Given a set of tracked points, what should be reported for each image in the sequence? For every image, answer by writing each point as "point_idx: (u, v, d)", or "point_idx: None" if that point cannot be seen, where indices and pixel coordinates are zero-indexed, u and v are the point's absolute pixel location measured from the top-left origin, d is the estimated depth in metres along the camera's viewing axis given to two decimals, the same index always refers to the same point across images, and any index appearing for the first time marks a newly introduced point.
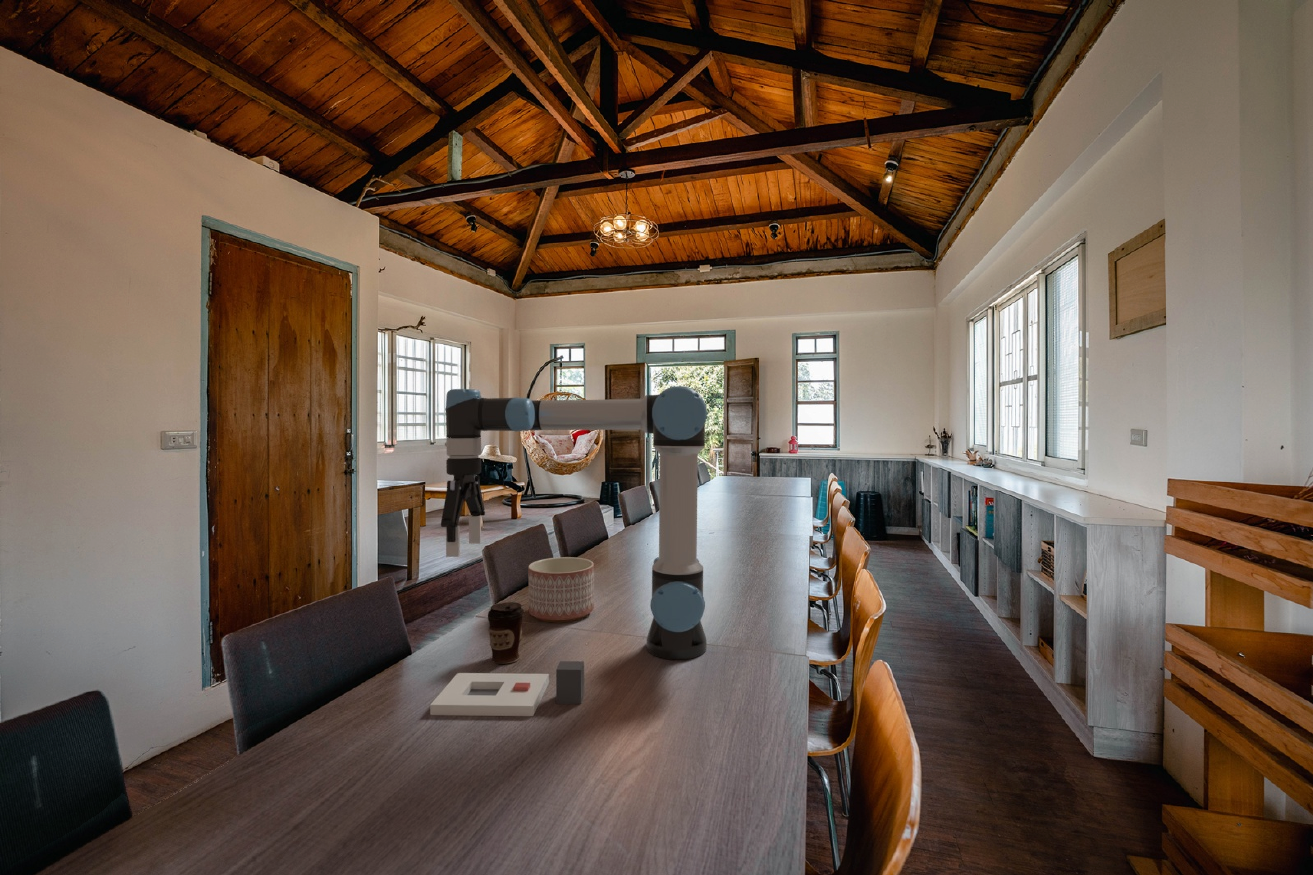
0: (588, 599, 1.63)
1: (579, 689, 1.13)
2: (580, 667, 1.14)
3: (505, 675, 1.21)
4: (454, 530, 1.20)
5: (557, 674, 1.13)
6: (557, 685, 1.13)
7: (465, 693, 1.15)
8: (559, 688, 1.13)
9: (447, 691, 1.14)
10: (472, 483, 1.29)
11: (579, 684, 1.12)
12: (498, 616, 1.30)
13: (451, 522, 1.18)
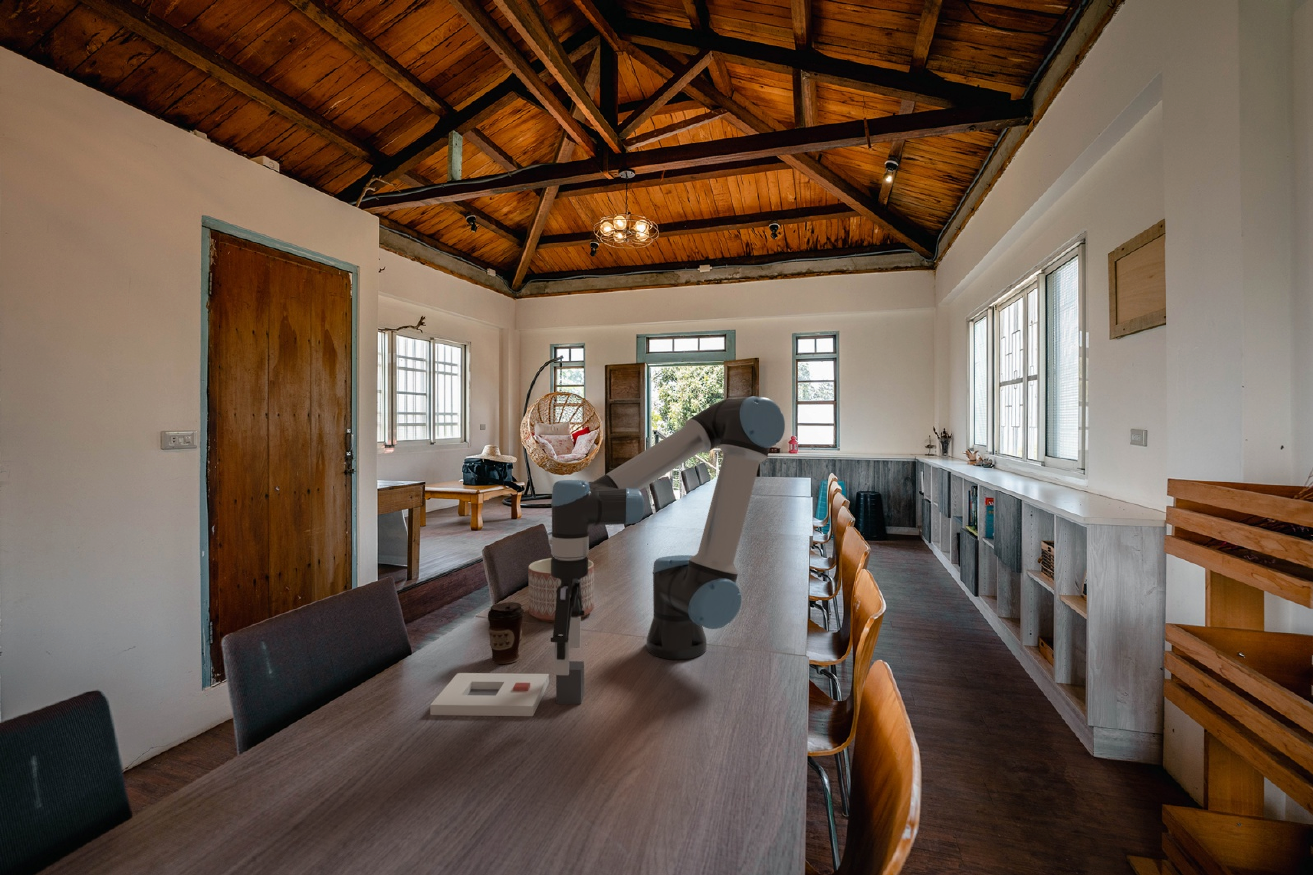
0: (588, 599, 1.63)
1: (579, 689, 1.13)
2: (580, 667, 1.14)
3: (505, 675, 1.21)
4: (564, 646, 1.06)
5: None
6: (557, 685, 1.13)
7: (465, 693, 1.15)
8: (559, 688, 1.13)
9: (447, 691, 1.14)
10: (577, 585, 1.15)
11: (579, 684, 1.12)
12: (498, 616, 1.30)
13: (564, 639, 1.04)
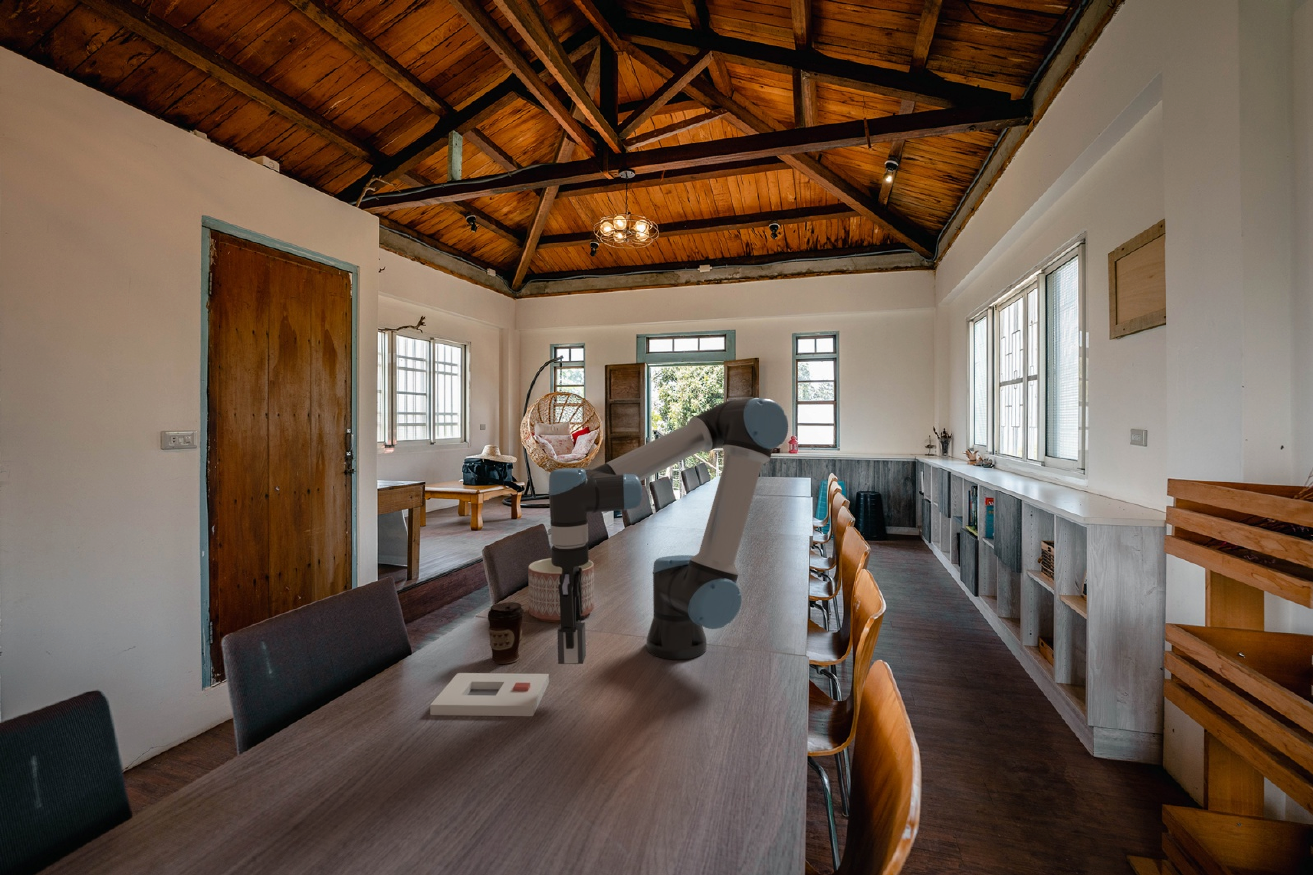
0: (588, 599, 1.63)
1: (581, 649, 1.13)
2: (581, 627, 1.14)
3: (505, 675, 1.21)
4: (573, 635, 1.11)
5: (558, 634, 1.13)
6: (558, 645, 1.13)
7: (465, 693, 1.15)
8: (561, 648, 1.13)
9: (447, 691, 1.14)
10: (579, 571, 1.15)
11: (580, 644, 1.13)
12: (498, 616, 1.30)
13: (572, 631, 1.09)
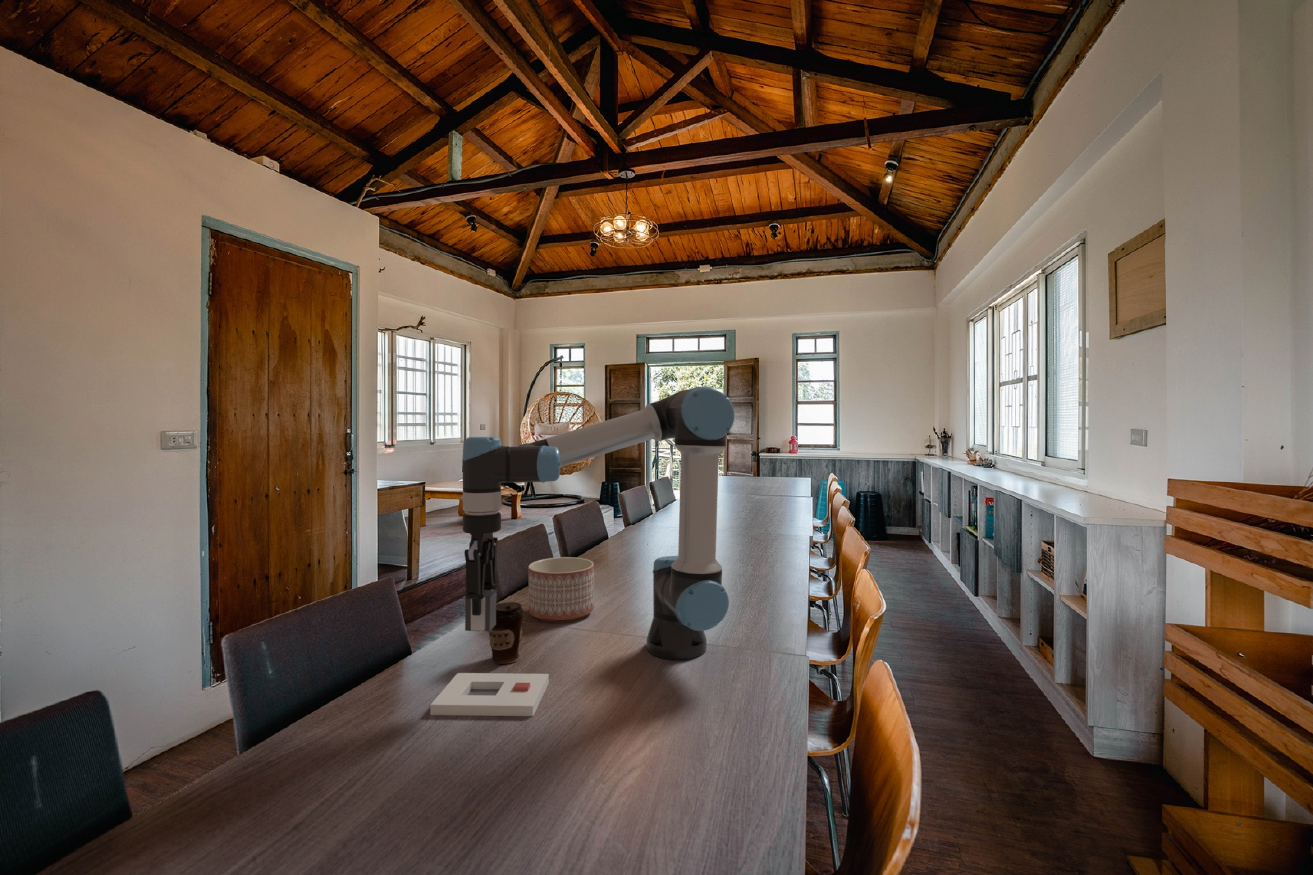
0: (588, 599, 1.63)
1: (488, 616, 1.13)
2: (490, 595, 1.14)
3: (505, 675, 1.21)
4: (480, 602, 1.11)
5: (466, 601, 1.13)
6: (466, 612, 1.13)
7: (465, 693, 1.15)
8: (468, 615, 1.13)
9: (447, 691, 1.14)
10: (491, 540, 1.15)
11: (488, 611, 1.13)
12: (498, 616, 1.30)
13: (477, 596, 1.09)
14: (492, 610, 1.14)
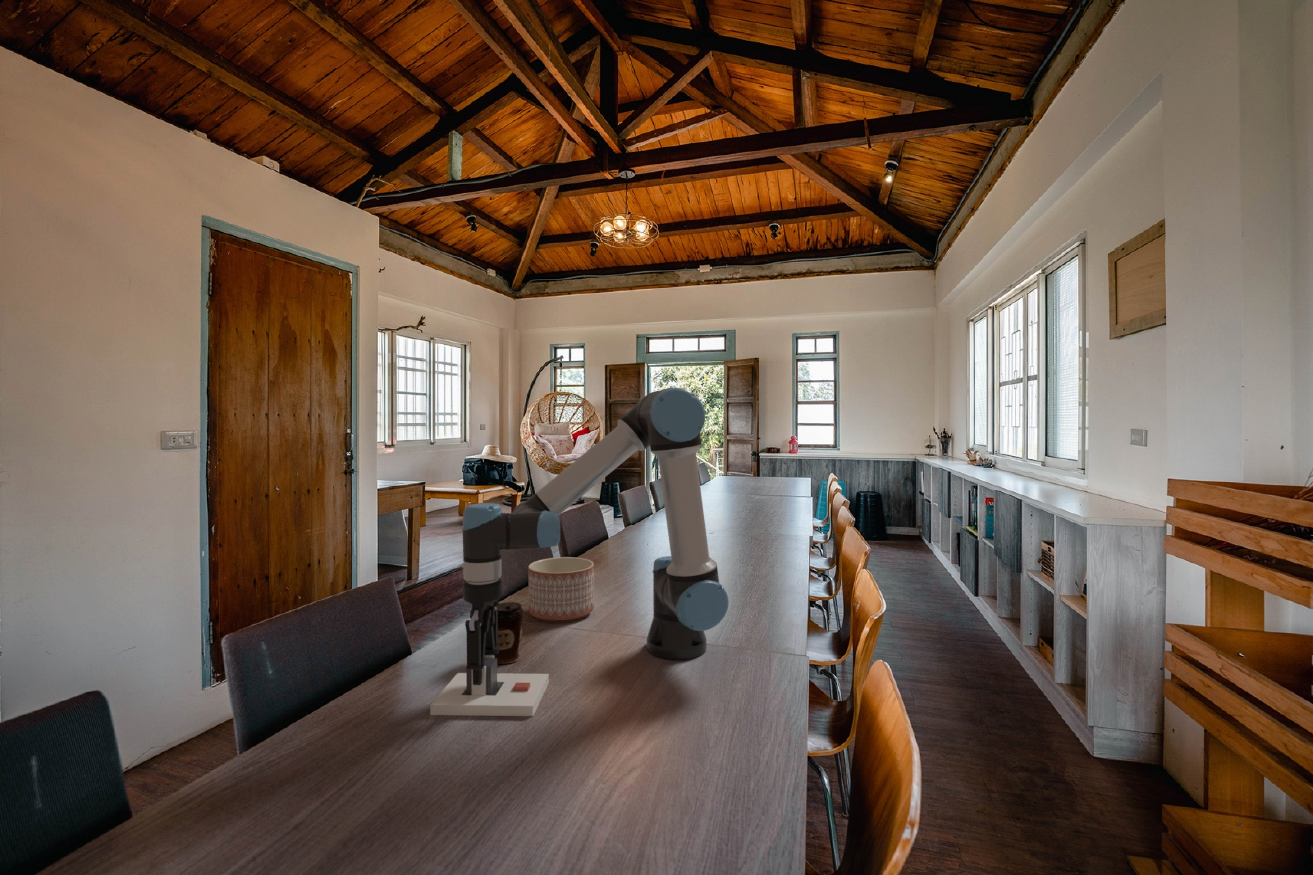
0: (588, 599, 1.63)
1: (489, 686, 1.13)
2: (491, 664, 1.14)
3: (505, 675, 1.21)
4: (480, 672, 1.11)
5: (467, 671, 1.13)
6: (467, 682, 1.13)
7: (465, 693, 1.15)
8: (469, 685, 1.13)
9: (447, 691, 1.14)
10: (492, 607, 1.16)
11: (489, 681, 1.13)
12: (498, 616, 1.30)
13: (478, 667, 1.09)
14: (493, 679, 1.15)
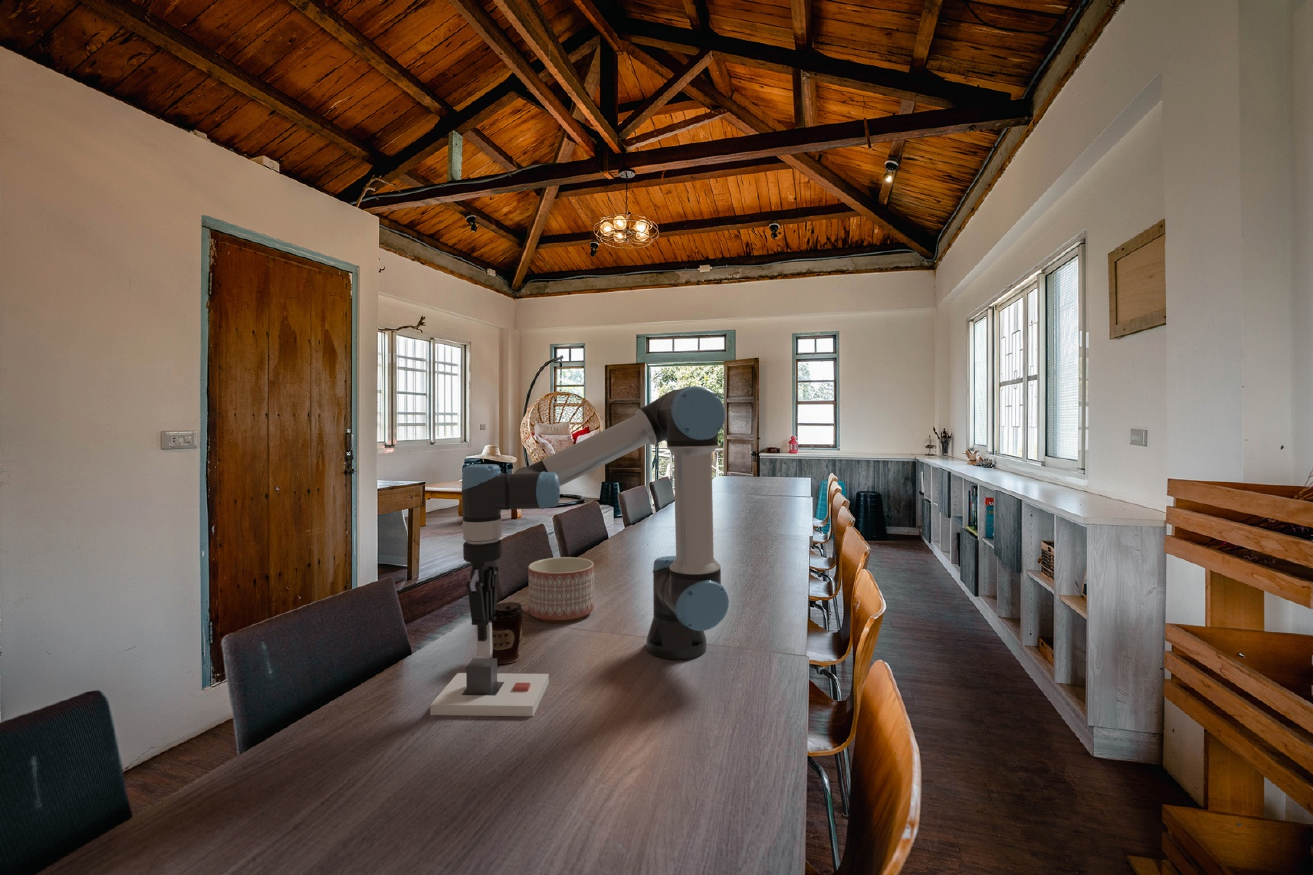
0: (588, 599, 1.63)
1: (489, 686, 1.13)
2: (491, 664, 1.14)
3: (505, 675, 1.21)
4: (485, 628, 1.14)
5: (467, 671, 1.13)
6: (467, 682, 1.13)
7: (465, 693, 1.15)
8: (469, 685, 1.13)
9: (447, 691, 1.14)
10: (492, 567, 1.16)
11: (489, 681, 1.13)
12: (498, 616, 1.30)
13: (483, 624, 1.11)
14: (493, 679, 1.15)
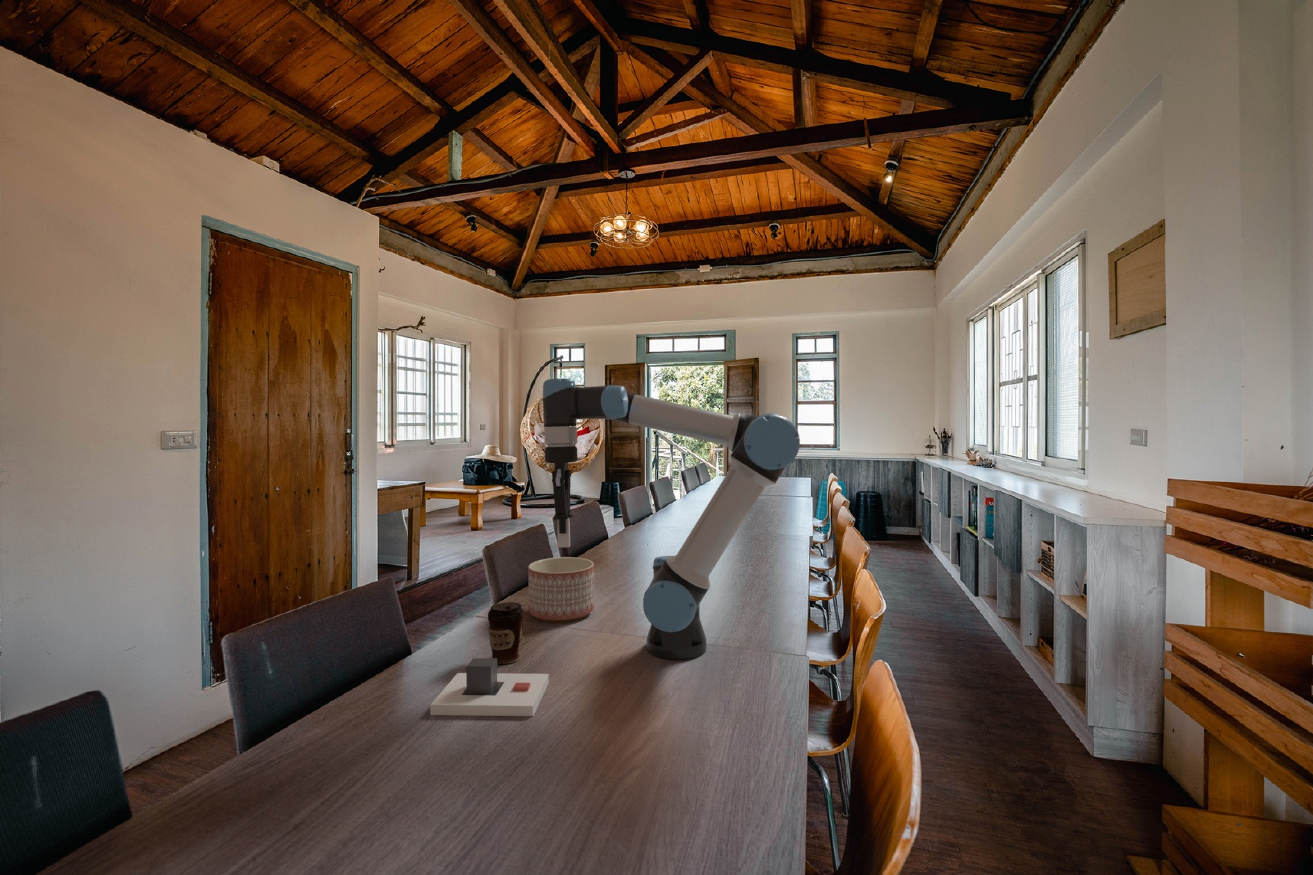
0: (588, 599, 1.63)
1: (489, 686, 1.13)
2: (491, 664, 1.14)
3: (505, 675, 1.21)
4: (565, 522, 1.29)
5: (467, 671, 1.13)
6: (467, 682, 1.13)
7: (465, 693, 1.15)
8: (469, 685, 1.13)
9: (447, 691, 1.14)
10: (569, 470, 1.31)
11: (489, 681, 1.13)
12: (498, 616, 1.30)
13: (565, 516, 1.27)
14: (493, 679, 1.15)
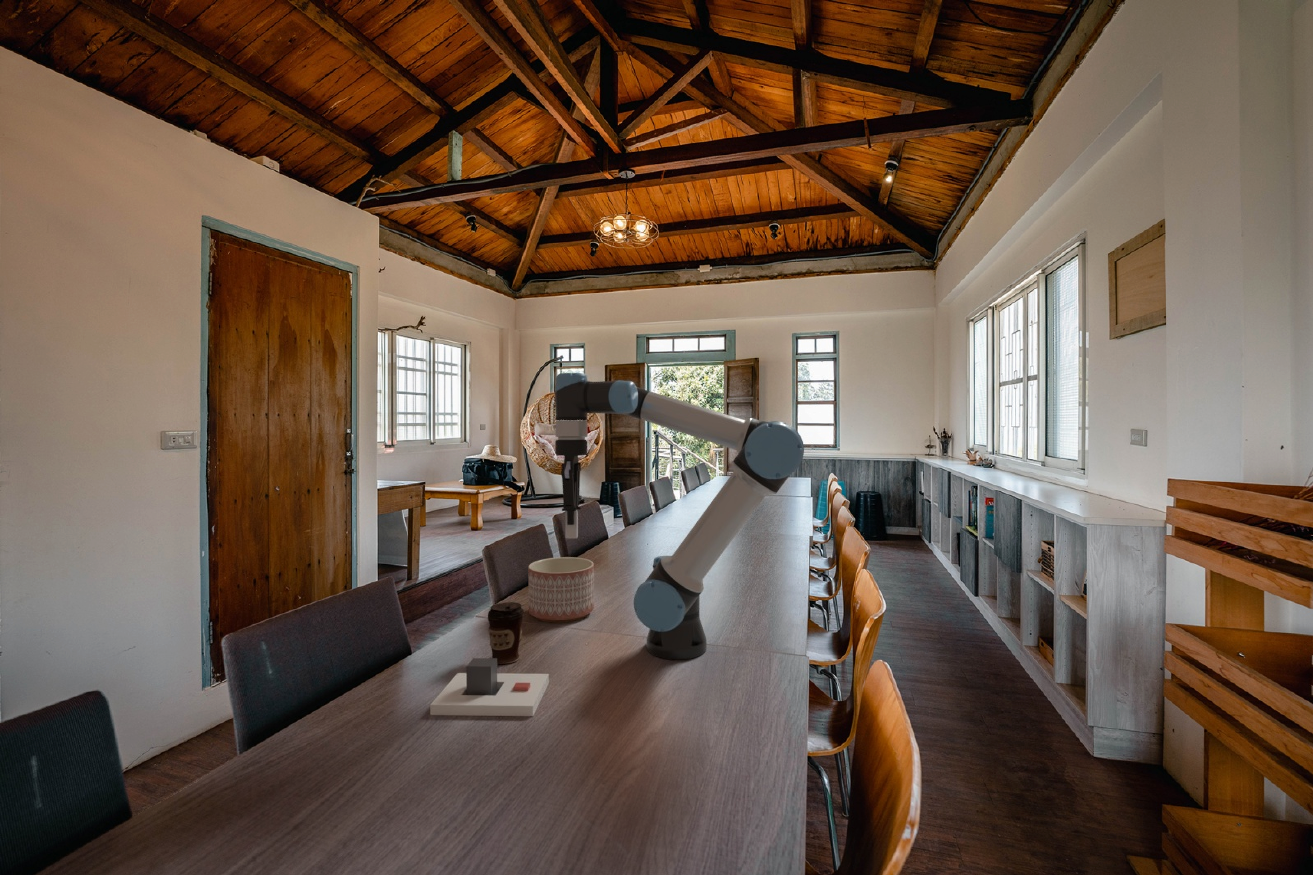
0: (588, 599, 1.63)
1: (489, 686, 1.13)
2: (491, 664, 1.14)
3: (505, 675, 1.21)
4: (573, 514, 1.32)
5: (467, 671, 1.13)
6: (467, 682, 1.13)
7: (465, 693, 1.15)
8: (469, 685, 1.13)
9: (447, 691, 1.14)
10: (579, 463, 1.34)
11: (489, 681, 1.13)
12: (498, 616, 1.30)
13: (573, 508, 1.29)
14: (493, 679, 1.15)
